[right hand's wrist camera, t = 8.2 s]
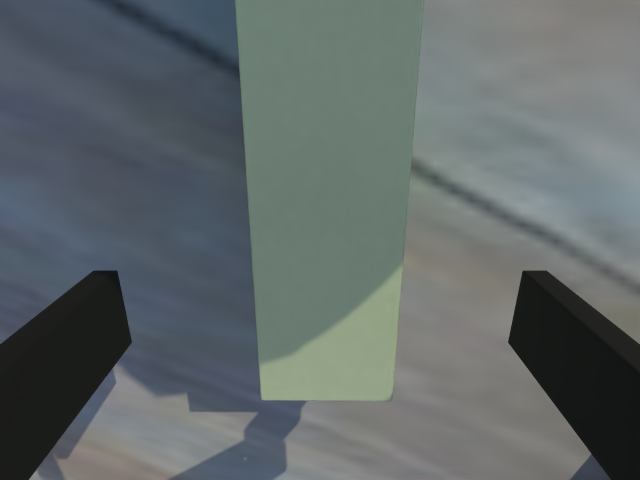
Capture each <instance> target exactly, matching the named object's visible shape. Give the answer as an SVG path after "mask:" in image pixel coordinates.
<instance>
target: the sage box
mask: <svg viewBox="0 0 640 480" xmlns="http://www.w3.org/2000/svg"><path fill="white" fill-rule="evenodd" d="M423 6H424V0H235V9H236V25H237V40H238V56H239V71H240V86H241V102H242V117H243V133H244V148H245V163H246V179H247V194H248V210H249V225H250V241H251V256H252V271H253V287H254V302H255V318H256V333H257V348H258V364H259V379H260V395H261V400H284V401H391V400H392V396H393V383H394V370H395V358H396V345H397V333H398V320H399V308H400V295H401V283H402V270H403V257H404V245H405V232H406V220H407V207H408V195H409V182H410V169H411V157H412V144H413V132H414V119H415V107H416V94H417V82H418V69H419V56H420V44H421V31H422V19H423Z"/></svg>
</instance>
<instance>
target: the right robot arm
mask: <svg viewBox="0 0 640 480" xmlns="http://www.w3.org/2000/svg"><path fill="white" fill-rule="evenodd" d="M131 343H132V341H131V336H130V331H129V326H128V321H127V316H126V311H125V306H124V301H123V297H122V292H121V287H120V282H119V277H118V272H117V271H93V272H91V273H90V274H89V275H87V276H86V277H85V278H84V279H82V280H81V281H80V282H79V283H77V284H76V285H75V286H74V287H72V288H71V289H70V290H68V291H67V292H66V293H65V294H63V295H62V296H61V297H60V298H58V299H57V300H56V301H55V302H53V303H52V304H51V305H49V306H48V307H47V308H46V309H44V310H43V311H42V312H41V313H39V314H38V315H37V316H36V317H34V318H33V319H32V320H31V321H29V322H28V323H27V324H25V325H24V326H23V327H22V328H20V329H19V330H18V331H17V332H15V333H14V334H13V335H12V336H10V337H9V338H8V339H6V340H5V341H4V342H3V343H1V344H0V480H29V479H30V477H31V476H32V475H33V473H34V472H35V471H36V469H37V468H38V467H39V465H40V464H41V463H42V461H43V460H44V459H45V457H46V456H47V455H48V453H49V452H50V451H51V449H52V448H53V447H54V445H55V444H56V443H57V441H58V440H59V439H60V437H61V436H62V435H63V433H64V432H65V431H66V429H67V428H68V427H69V425H70V424H71V423H72V421H73V420H74V419H75V417H76V416H77V415H78V413H79V412H80V411H81V409H82V408H83V407H84V405H85V404H86V403H87V401H88V400H89V399H90V397H91V396H92V395H93V393H94V392H95V391H96V389H97V388H98V387H99V385H100V384H101V383H102V381H103V380H104V379H105V377H106V376H107V375H108V373H109V372H110V371H111V369H112V368H113V367H114V365H115V364H116V363H117V361H118V360H119V359H120V357H121V356H122V355H123V353H124V352H125V351H126V349H127V348H128V347H129V345H130V344H131ZM508 343H509V344H510V345H511V347H512V348H513V349H514V351H515V352H516V353H517V355H518V356H519V357H520V359H521V360H522V361H523V363H524V364H525V365H526V367H527V368H528V369H529V371H530V372H531V373H532V375H533V376H534V377H535V379H536V380H537V381H538V383H539V384H540V385H541V387H542V388H543V389H544V391H545V392H546V393H547V395H548V396H549V397H550V399H551V400H552V401H553V403H554V404H555V405H556V407H557V408H558V409H559V411H560V412H561V413H562V415H563V416H564V417H565V419H566V420H567V421H568V423H569V424H570V425H571V427H572V428H573V429H574V431H575V432H576V433H577V435H578V436H579V437H580V439H581V440H582V441H583V443H584V444H585V445H586V447H587V448H588V449H589V451H590V452H591V453H592V455H593V456H594V457H595V459H596V460H597V461H598V463H599V464H600V465H601V467H602V468H603V469H604V471H605V472H606V473H607V475H608V476H609V477H610V479H611V480H640V344H639V343H637V342H636V341H635V340H634V339H632V338H631V337H630V336H628V335H627V334H626V333H625V332H623V331H622V330H621V329H620V328H618V327H617V326H616V325H615V324H613V323H612V322H611V321H609V320H608V319H607V318H606V317H604V316H603V315H602V314H601V313H599V312H598V311H597V310H596V309H594V308H593V307H592V306H591V305H589V304H588V303H587V302H585V301H584V300H583V299H582V298H580V297H579V296H578V295H577V294H575V293H574V292H573V291H572V290H570V289H569V288H568V287H566V286H565V285H564V284H563V283H561V282H560V281H559V280H558V279H556V278H555V277H554V276H553V275H551V274H550V273H549V272H547V271H523V272H522V277H521V282H520V287H519V292H518V297H517V301H516V306H515V311H514V316H513V321H512V326H511V331H510V336H509V341H508Z"/></svg>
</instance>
